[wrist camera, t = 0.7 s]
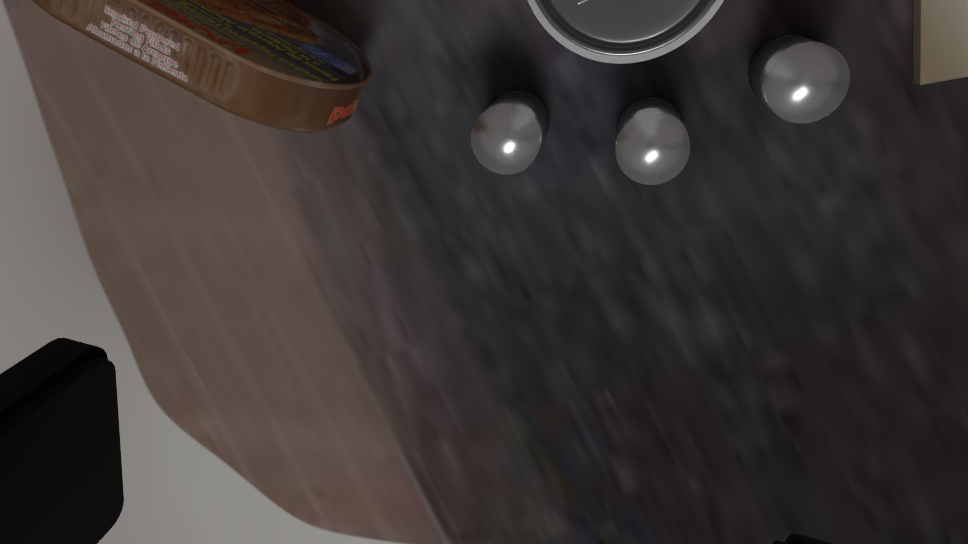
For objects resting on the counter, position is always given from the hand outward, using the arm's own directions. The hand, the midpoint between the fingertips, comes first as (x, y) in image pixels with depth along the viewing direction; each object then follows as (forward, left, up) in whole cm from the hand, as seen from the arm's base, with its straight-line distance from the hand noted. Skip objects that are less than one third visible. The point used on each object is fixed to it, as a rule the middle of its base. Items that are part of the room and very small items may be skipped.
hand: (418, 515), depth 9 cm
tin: (+14, -8, -26) cm, 31 cm away
